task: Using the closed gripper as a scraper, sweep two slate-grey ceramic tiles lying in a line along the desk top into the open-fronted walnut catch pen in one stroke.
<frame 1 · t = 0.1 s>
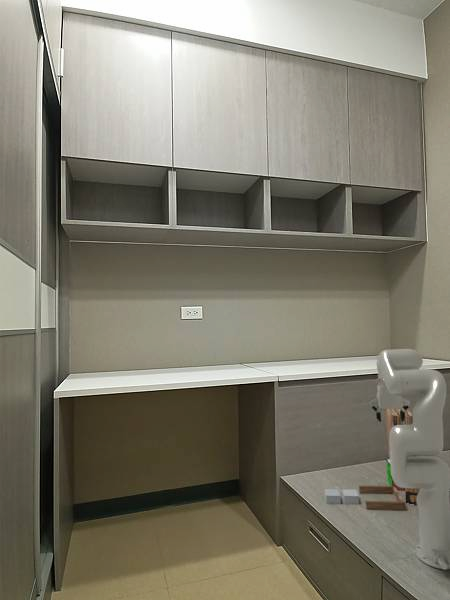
hand: (390, 420, 167), 31 cm above the table, fingers open, 9 cm apart
catch pen: (381, 500, 159), on the table
tile trail: (332, 500, 162), on the table
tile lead: (350, 501, 161), on the table
puzzle cube: (401, 486, 172), on the table
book: (402, 468, 191), on the table
ammunition clip: (420, 505, 154), on the table
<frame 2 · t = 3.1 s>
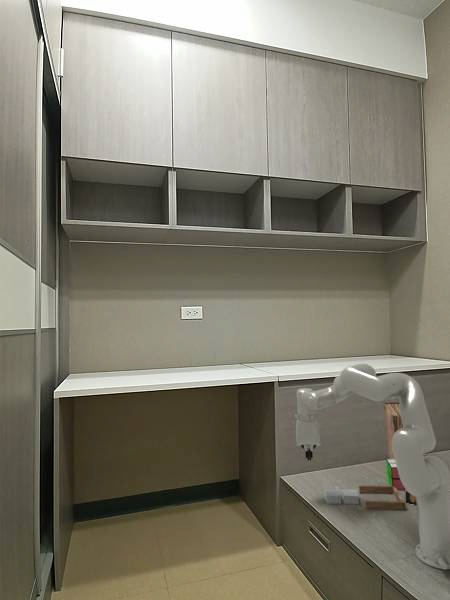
hand: (309, 459, 165), 17 cm above the table, fingers closed
nothing on the table moved.
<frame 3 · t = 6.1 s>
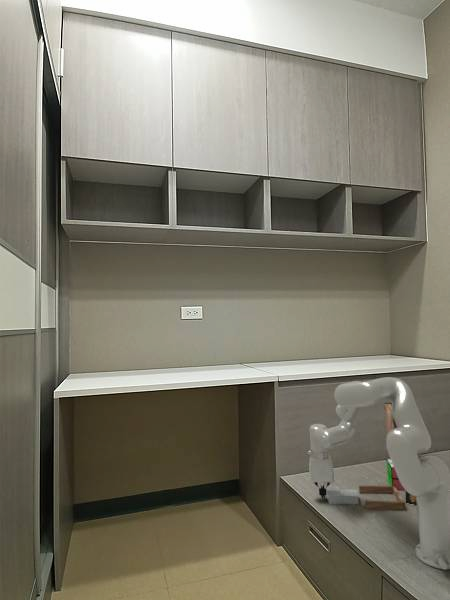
hand: (323, 496, 163), 1 cm above the table, fingers closed
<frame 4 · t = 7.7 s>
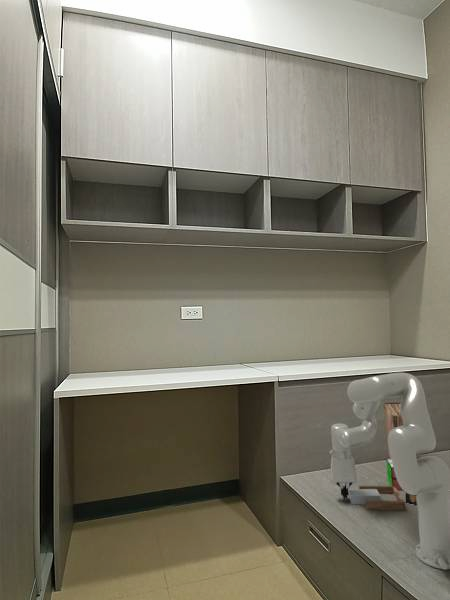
hand: (344, 496, 162), 1 cm above the table, fingers closed
tile trail: (357, 500, 161), on the table, touching gripper, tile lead
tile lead: (371, 500, 160), on the table, touching tile trail
everything else where it was.
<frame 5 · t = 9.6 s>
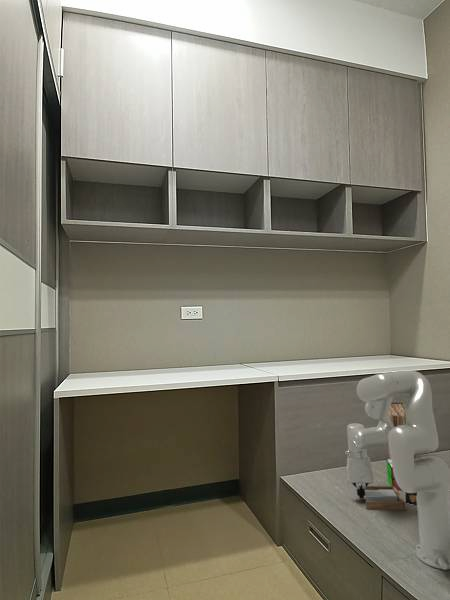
hand: (361, 497, 161), 1 cm above the table, fingers closed
tile trail: (373, 501, 159), on the table
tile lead: (388, 501, 159), on the table
everything else where it was.
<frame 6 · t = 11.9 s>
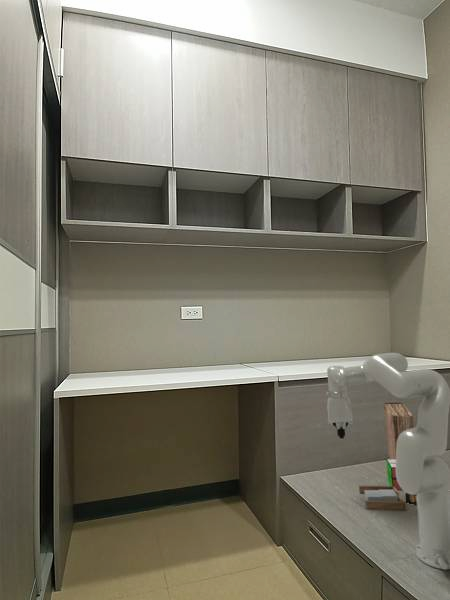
hand: (341, 437, 163), 27 cm above the table, fingers closed
nothing on the table moved.
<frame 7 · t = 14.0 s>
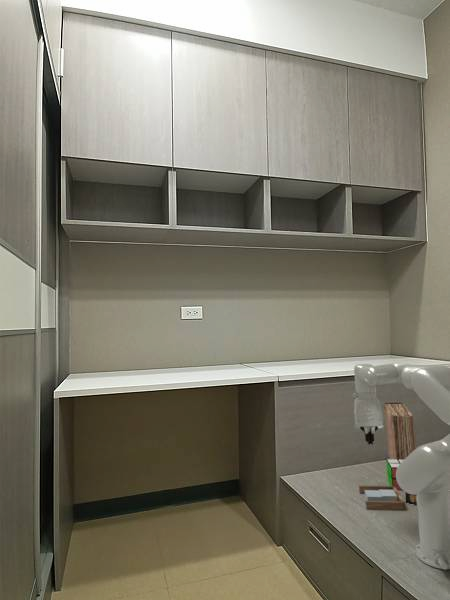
hand: (370, 443, 147), 29 cm above the table, fingers closed
nothing on the table moved.
at the end: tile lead inside the target area on the catch pen (3.4 cm from its centre), point 0.0 cm above the catch pen's base; tile trail inside the target area on the catch pen (2.6 cm from its centre), point 0.0 cm above the catch pen's base; tile trail moved 16.9 cm from its start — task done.
